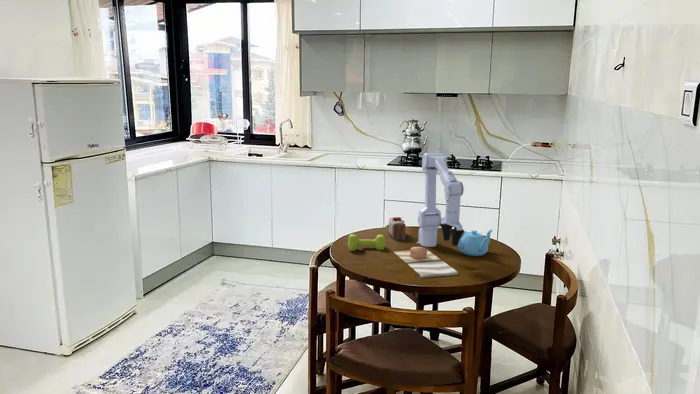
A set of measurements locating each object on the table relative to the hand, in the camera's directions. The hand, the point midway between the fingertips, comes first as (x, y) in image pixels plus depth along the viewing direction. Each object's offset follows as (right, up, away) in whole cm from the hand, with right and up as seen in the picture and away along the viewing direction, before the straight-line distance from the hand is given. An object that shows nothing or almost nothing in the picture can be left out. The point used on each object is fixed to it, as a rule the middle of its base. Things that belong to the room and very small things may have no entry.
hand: (450, 242), depth 214 cm
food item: (-18, -1, +44) cm, 47 cm away
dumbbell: (-34, -5, +20) cm, 40 cm away
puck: (-12, -7, +8) cm, 16 cm away
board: (-11, -9, +3) cm, 14 cm away
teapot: (+14, -6, +18) cm, 24 cm away
